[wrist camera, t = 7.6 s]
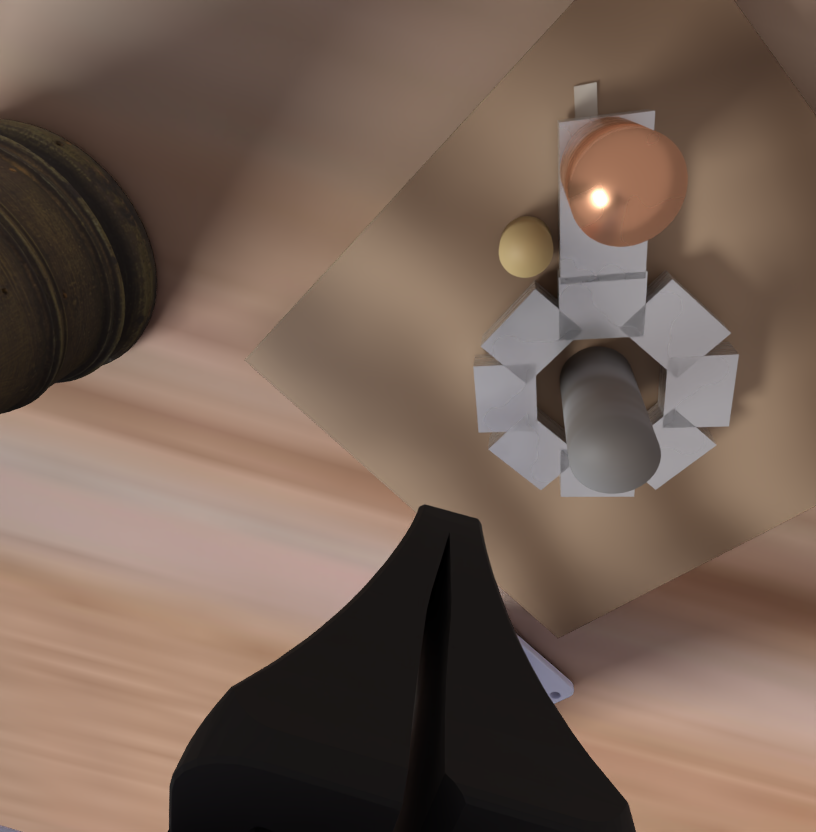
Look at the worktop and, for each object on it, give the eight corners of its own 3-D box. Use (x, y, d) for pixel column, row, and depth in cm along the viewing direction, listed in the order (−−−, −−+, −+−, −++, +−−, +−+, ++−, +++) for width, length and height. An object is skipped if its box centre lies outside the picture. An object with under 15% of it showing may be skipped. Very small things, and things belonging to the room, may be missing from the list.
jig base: (556, 617, 28) (564, 744, 23) (256, 348, 24) (179, 426, 19) (992, 384, 20) (1164, 497, 15) (655, -87, 16) (722, -170, 10)
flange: (711, 479, 22) (758, 582, 17) (485, 481, 23) (476, 575, 19) (761, 94, 16) (851, 101, 12) (458, 132, 18) (435, 151, 13)
